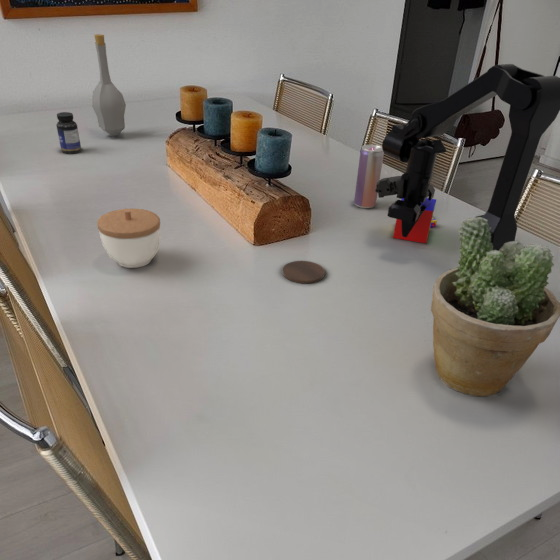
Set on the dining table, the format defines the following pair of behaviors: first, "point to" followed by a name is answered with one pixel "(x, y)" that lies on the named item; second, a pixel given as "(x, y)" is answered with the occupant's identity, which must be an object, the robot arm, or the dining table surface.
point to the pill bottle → (68, 133)
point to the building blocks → (433, 222)
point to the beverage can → (368, 176)
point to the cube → (418, 224)
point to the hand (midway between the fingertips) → (404, 236)
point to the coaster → (303, 272)
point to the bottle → (107, 95)
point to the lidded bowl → (130, 236)
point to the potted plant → (490, 311)
